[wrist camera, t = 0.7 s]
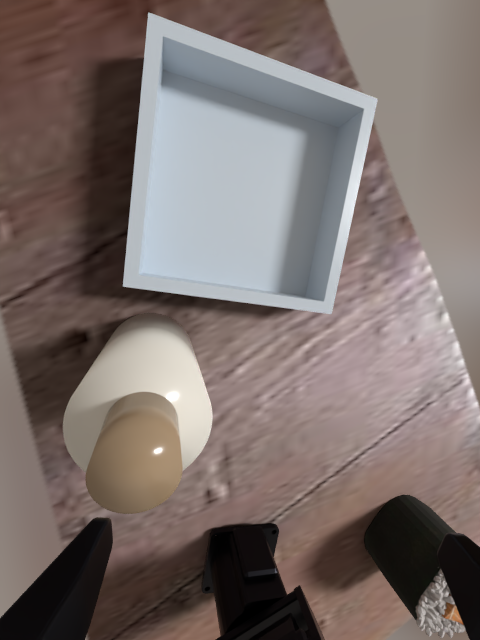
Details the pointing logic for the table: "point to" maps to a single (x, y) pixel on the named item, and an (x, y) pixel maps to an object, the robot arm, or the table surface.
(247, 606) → the robot arm
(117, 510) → the dressing bottle
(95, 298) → the table surface
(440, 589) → the sushi
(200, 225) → the bin
